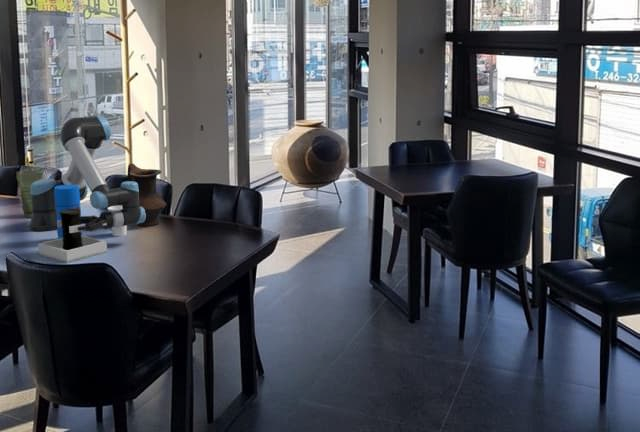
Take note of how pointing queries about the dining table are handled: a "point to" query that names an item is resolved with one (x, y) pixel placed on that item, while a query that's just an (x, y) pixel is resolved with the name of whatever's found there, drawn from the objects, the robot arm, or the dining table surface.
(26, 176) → the green ribbed vase
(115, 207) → the foam cup
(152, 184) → the jug
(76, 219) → the container
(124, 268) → the dining table surface
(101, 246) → the white bin
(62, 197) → the thermos
